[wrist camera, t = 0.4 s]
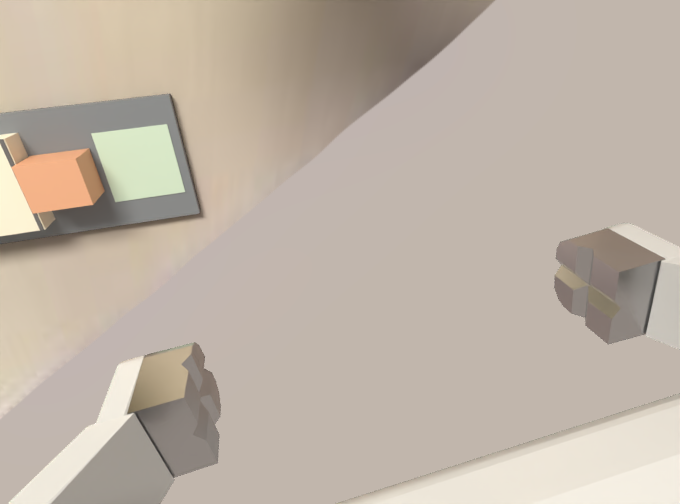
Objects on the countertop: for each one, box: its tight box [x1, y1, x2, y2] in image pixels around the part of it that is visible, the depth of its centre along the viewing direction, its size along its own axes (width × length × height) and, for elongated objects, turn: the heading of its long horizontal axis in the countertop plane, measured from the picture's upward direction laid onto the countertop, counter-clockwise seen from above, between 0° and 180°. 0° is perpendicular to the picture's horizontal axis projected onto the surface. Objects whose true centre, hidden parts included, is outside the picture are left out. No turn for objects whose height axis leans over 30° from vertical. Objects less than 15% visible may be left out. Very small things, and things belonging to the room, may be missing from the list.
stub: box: [11, 148, 105, 214], centre depth 46 cm, size 5×6×4 cm
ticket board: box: [0, 94, 200, 244], centre depth 47 cm, size 14×32×4 cm, turn 95°
